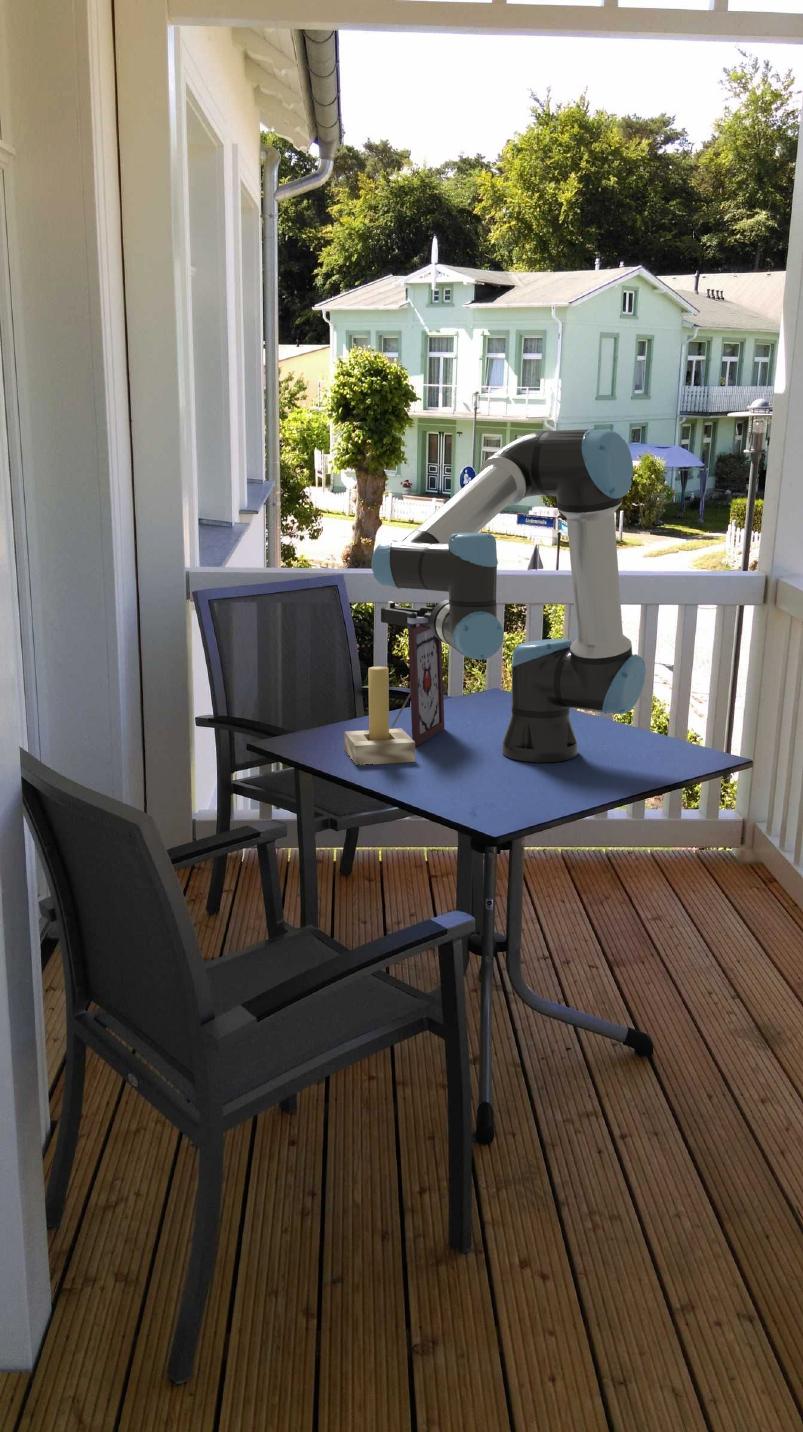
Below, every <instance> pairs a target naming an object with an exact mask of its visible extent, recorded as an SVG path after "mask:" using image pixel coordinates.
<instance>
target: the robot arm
mask: <svg viewBox="0 0 803 1432" xmlns="http://www.w3.org/2000/svg"><path fill="white" fill-rule="evenodd" d="M633 477H634V462H633V456H632V453H631V451H630V448H629V445H628V443H627V442H626V440H625V439H624V438H623V437H622V436H621V434H619V433H617V432H615V431H613V430H601V429H596V428H590V429H565V430H564V429H561V430H550V429H549V430H547V429H546V430H538V431H534V432H530V433H528V434H525V435H523V436H521V437H519V438H517V439H515V440H513V441H511V442H510V443H508V444H506V445H505V446H503V447H502V448H501V447H500V449H499V450H497V451H496V452H494V453H493V454H492V455H491V456H489V457H487V459H486V460H485V461H483V463H482V465H481V466H480V468H479V472H478V474H477V475H476V476H475V477H474V478H473V479H470V481H469V482H468V483H466V485H464V486H463V487H462V488H461V489H460V490H459V491H458V492H456V494H454V495H453V496H452V497H451V498H450V499H448V500H447V501H446V502H445V503H444V504H442V506H440V507H439V508H438V509H437V510H436V511H435V512H433V514H431V515H430V516H429V517H428V518H427V519H425V520H424V521H423V522H422V523H421V524H420V525H418V527H416V528H415V529H414V530H412V531H411V532H410V533H409V535H407V536H405V538H404V539H402V540H400V541H397V540H387V541H383V542H381V543H379V544H378V545H377V546H376V547H375V549H374V551H373V553H372V557H371V570H372V574H373V577H374V579H375V580H376V581H377V583H379V584H380V585H381V586H385V587H389V588H390V587H391V588H396V589H400V590H401V589H409V590H427V591H437V592H445V593H446V592H448V597H449V598H448V599H444V600H442V601H441V602H438V604H437V605H435V607H429V606H424V607H421V608H420V609H419V608H411V607H410V608H409V607H400V604H398V603H396V602H394V601H392V600H389V601H387V607H385V606H382V607H381V608H380V622H381V623H383V624H384V623H385V624H391V625H395V626H400V627H406V628H408V627H409V628H412V629H414V628H416V627H417V624H419V625H420V626H421V627H424V628H431V630H432V632H433V634H434V635H435V636H436V637H437V638H438V639H439V640H441V641H442V643H445V645H446V644H447V645H448V646H450V647H451V648H452V649H454V650H455V651H456V652H458V653H459V654H460V655H462V656H464V657H466V658H470V659H473V660H485V659H489V658H491V657H493V656H494V655H496V654H497V652H498V651H499V650H500V649H501V647H502V645H503V643H504V635H505V634H504V633H505V632H504V628H503V626H502V623H501V622H500V621H499V619H498V618H497V617H498V615H497V606H498V605H497V582H498V581H497V579H498V577H497V574H498V565H499V560H498V553H497V552H498V551H497V539H496V537H495V536H494V535H493V534H492V533H487V532H480V531H481V530H482V529H483V528H484V527H485V526H487V524H489V523H490V522H491V521H492V520H493V519H494V518H496V517H497V515H498V514H499V513H501V512H502V511H503V510H504V509H505V508H506V507H508V506H509V507H510V506H514V505H516V504H518V503H520V502H521V501H522V500H523V499H525V498H527V497H534V496H546V497H547V496H548V497H556V505H557V511H558V512H560V514H562V515H563V516H564V517H565V518H566V523H567V524H566V525H567V536H568V546H569V547H568V548H569V559H570V561H569V562H570V570H571V572H570V574H571V582H572V594H573V595H572V596H573V606H574V617H575V627H576V639H575V640H574V641H573V642H572V641H571V640H570V639H568V638H550V639H548V638H547V639H539V640H531V641H527V642H522V643H518V644H517V645H516V646H515V647H514V649H513V651H512V658H511V666H510V667H511V715H510V718H509V722H508V725H507V727H506V730H505V733H504V736H503V739H502V745H501V747H502V748H501V749H502V750H501V753H502V754H503V756H505V757H507V758H509V759H512V760H516V761H522V762H528V763H559V762H563V761H569V760H571V759H574V758H575V757H577V756H578V741H577V737H576V735H575V731H574V728H573V726H572V721H571V718H570V709H577V710H585V711H589V712H597V713H602V714H604V715H608V714H612V715H613V714H614V715H624V714H627V713H629V712H630V711H631V710H632V709H633V708H634V707H635V706H636V704H637V703H638V701H639V698H640V697H641V694H642V691H643V689H644V685H645V682H646V681H645V680H646V673H647V672H646V663H645V662H646V661H645V660H644V659H643V657H642V656H640V655H638V654H637V653H636V654H633V646H632V641H631V639H630V638H629V637H627V636H626V635H624V633H623V619H622V605H621V604H622V603H621V591H620V588H621V586H620V577H619V576H620V575H619V561H618V547H617V546H618V545H617V533H616V532H617V531H616V517H615V513H616V512H617V510H618V508H619V507H621V505H623V497H625V496H626V495H627V494H628V493H629V491H630V489H631V487H632V483H633V481H632V478H633Z"/></svg>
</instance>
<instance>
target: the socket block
mask: <svg viewBox="0 0 803 1432" xmlns="http://www.w3.org/2000/svg"><path fill="white" fill-rule="evenodd" d="M344 751H345V753H346V752H347V753H348V754H347V753H346V754H347V756H348V755H349V756H350V757H349V756H348V757H349V759H350V760H351V759H352V760H353V761H352V760H351V761H352V763H353V762H354V763H355V764H356V765H357V764H360V765H359V766H366V765H365V764H369V765H370V764H373V765H386V764H400V763H416V746H415V742H414V741H413V740H412V737H411V736H410V735H409V734H408V733H407V732H406V731H405V730H404V729H403V728H402V727H398V728H393V729H391V728H389V740H375V741H369V729H368V730H366V729H365V730H364V729H363V730H348V731H344ZM354 763H353V764H354ZM355 764H354V765H355ZM362 764H363V765H362ZM356 765H355V766H356ZM369 765H368V766H369Z"/></svg>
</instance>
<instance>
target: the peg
mask: <svg viewBox="0 0 803 1432" xmlns="http://www.w3.org/2000/svg"><path fill="white" fill-rule="evenodd" d="M389 681H390V680H389V667H386V666H371V667H368V681H367V682H368V730H369V741H375V740H389V729H390V703H389V702H390V701H389V699H390V697H389V696H390V695H389V693H390V692H389V690H390V689H389V686H390V685H389Z"/></svg>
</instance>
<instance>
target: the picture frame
mask: <svg viewBox="0 0 803 1432" xmlns="http://www.w3.org/2000/svg"><path fill="white" fill-rule="evenodd" d="M407 636H408V637H407V638H408V662H409V663H408V664H409V684H410V686H409V687H410V689H409V690H410V691H409V694H407V695H408V696H407V697H406V699H405V702H404V703H403V705H402V707H401V709H400V711H399V712H398V714H397V716H396V718H395V720H394V721H393V723H392V725H391V727H390V729H394V727H395V725H396V723H397V721H398V720H399V718H400V716H401V714H402V712H403V710H404V709H405V707H406V706H407V703H408V701H409V699H410V715H411V718H410V719H411V736H412V737H411V739H412V740H413V741H414V742H415V748H416V747H420V745H423V743H425V742H428V740H431V738H433V737H434V736H436V735H438V734H439V733H441V732H442V731H443V730H445V705H444V704H445V703H444V702H445V701H444V700H445V699H444V697H445V696H444V674H443V671H444V669H443V668H444V666H443V641H441V640H439V639H438V638H437V637H436V636H435V635H434V634H433V632H432V630H431V628H424V627H421V626H420V625H419V624H417V627H416V628H414V629H412V628H409V627H407Z"/></svg>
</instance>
